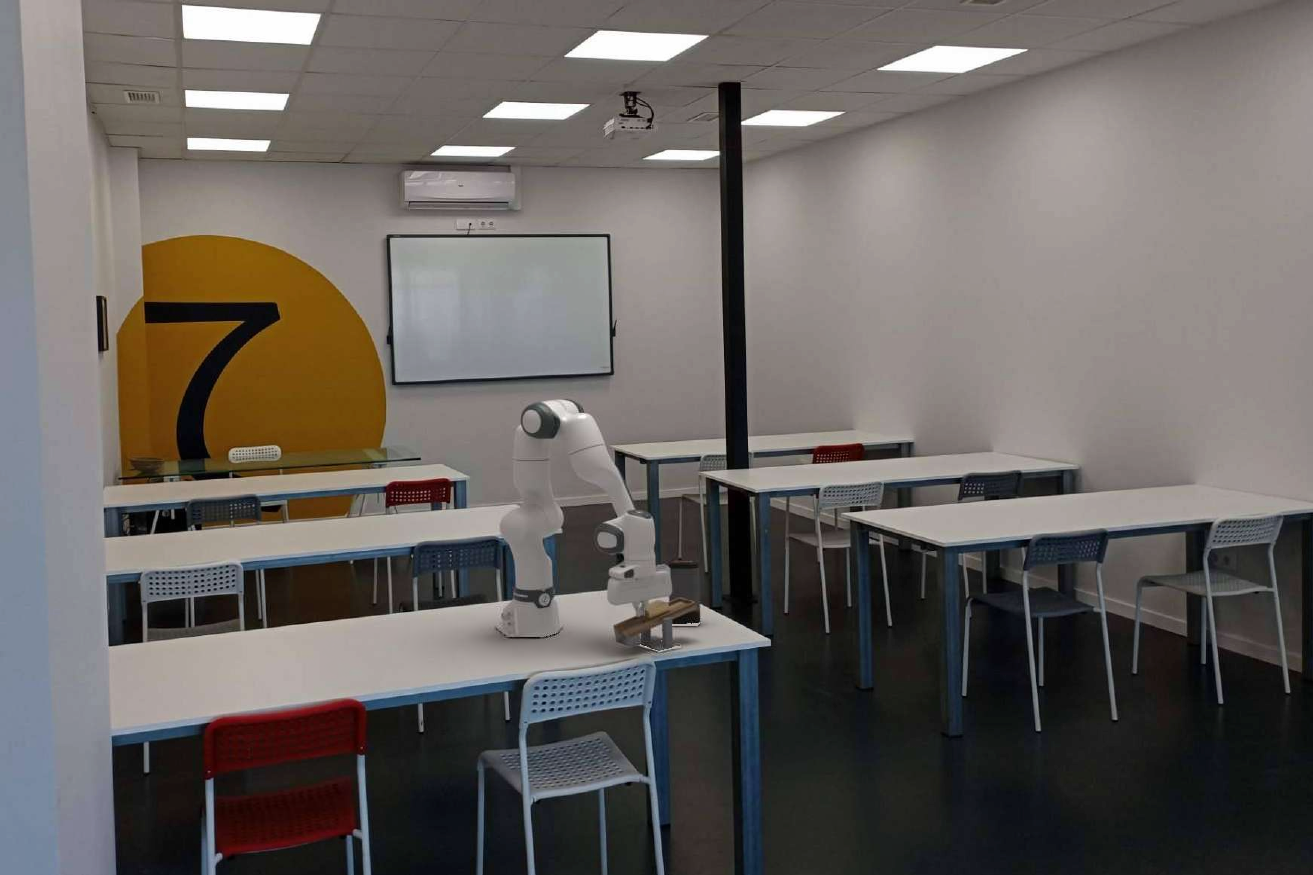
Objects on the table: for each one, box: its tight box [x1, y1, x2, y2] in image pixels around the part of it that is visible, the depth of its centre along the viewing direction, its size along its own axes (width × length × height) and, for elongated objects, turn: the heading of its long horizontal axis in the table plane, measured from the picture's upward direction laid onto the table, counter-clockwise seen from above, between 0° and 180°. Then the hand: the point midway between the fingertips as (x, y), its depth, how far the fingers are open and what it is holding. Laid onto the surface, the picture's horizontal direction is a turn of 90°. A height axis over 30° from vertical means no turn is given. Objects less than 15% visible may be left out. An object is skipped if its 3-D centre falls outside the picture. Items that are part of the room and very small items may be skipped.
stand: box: [640, 617, 682, 651], centre depth 322 cm, size 13×8×9 cm, turn 36°
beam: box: [612, 597, 697, 648], centre depth 322 cm, size 8×24×5 cm, turn 126°
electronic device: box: [667, 558, 701, 624], centre depth 345 cm, size 9×6×20 cm, turn 84°
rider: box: [640, 599, 670, 622], centre depth 321 cm, size 5×7×4 cm
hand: (640, 616), depth 319 cm, fingers closed
